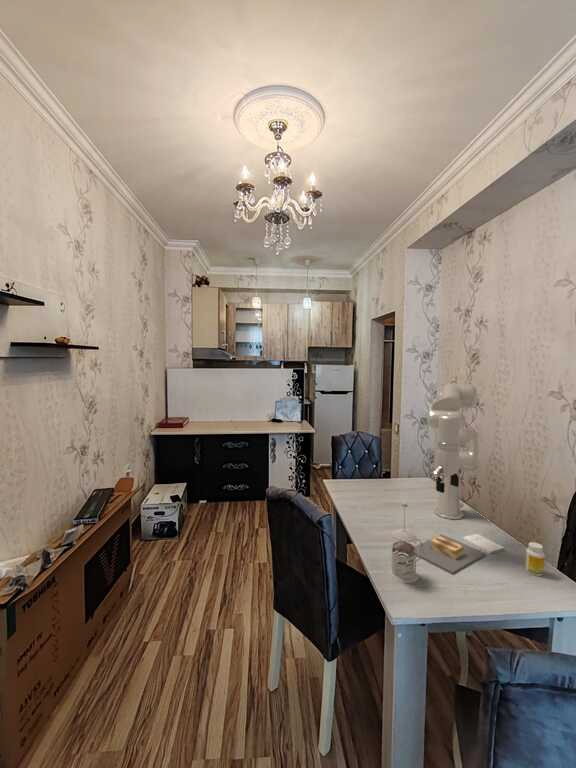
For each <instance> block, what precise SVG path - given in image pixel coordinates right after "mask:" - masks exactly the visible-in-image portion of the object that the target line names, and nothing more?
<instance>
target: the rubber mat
mask: <svg viewBox="0 0 576 768" xmlns="http://www.w3.org/2000/svg"><path fill="white" fill-rule="evenodd" d="M438 536H440V537H443V538H445V539H448V540H450V541H453V542H455V543H457V544H460V545H462V546H464V554H463V555H462V556H460V557H459V558H457V559H452V558H450V557H448V556H446V555H444V554H441V553H439V552H437V551H435V550H432V549H430V540H431V539H433V538H434V537H432V538H430V539H428V540H426V541H424V542H421V543H422V544H423V546H424V554H423V546H422V551H421V545H422V544H420V543H419V544H417V545H414V547H415V550H414V555H415V552H416V557H417V556H418V555H419V554H420V555H419V556H418V557H417V558H418V559H420V558H421V557H422V560H423V559H424V561H425V562H427V563H429V564H431V565H433V566H435V567H437V568H439V569H440V570H443V571H445V572H447V573H449V574H451V575H454V574H456V573H457V572H459V571H461V570H463V569H465V568H466V567H467V566H469V565H471V564H473V563H474V562H476V561H478V560H480V559H481V558H483V557H485V556H487V555H486V554H487V552H485V551H484V552H483V550H482V551H481V549H480V550H479V549H477V548H475V547H472V546H470V545H468V544H466V543H463V542H460V541H458V540H456V539H454V538H451V537H449V536H446V535H445V534H443V533H442V534H439V535H438ZM420 551H421V553H420ZM422 554H423V556H422Z"/></svg>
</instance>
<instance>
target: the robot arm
mask: <svg viewBox="0 0 576 768" xmlns="http://www.w3.org/2000/svg"><path fill="white" fill-rule="evenodd" d="M477 400H478V391H477V388H476V386H475V385H474V384H472V383H462V382H461V383H458V382H456V383H455V382H454V383H453V382H452V383H447V384H445V385H444V386H443V387H442V390H441V391H439V392H438V393H437V396H436V400H435V401H434V402H431V404H430V405H429V407H428V410H427V415H426V422H427V423H426V424H427V425H428V426H429V428H431V429H434V430H435V429H437V430H438V435H437V439H438V440H437V450H436V456H435V464H434V465H435V466H434V471H433V476H434V480H435V482H436V483H435V490H436V492H438V496H437V506H436V507H435V508H434V514H435V515H437V516H439V517H441V518H443V519H447V520H461V519H462V518H464V513H463V512H462V511H461V508H464V507H465V506H464V503H463V502H461V482H462V481H461V480H462V479H461V478H460V475H461V474H460V473H461V471H463V472H464V471H465V472H475V471H477V470H478V468H479V435H478V432H477V430H476V429H474V428H469V427H465V426H466V420H467V419H466V416H465V415H464V413H463V412H461V411H459V410H460V409H474V408H475V407H476V405H477ZM460 448H463V449H460Z"/></svg>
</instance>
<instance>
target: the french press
mask: <svg viewBox="0 0 576 768" xmlns="http://www.w3.org/2000/svg"><path fill="white" fill-rule="evenodd" d="M408 506H409V505H408V503H407V502H406V501H404V502H402V503H401V507H404V510H403V511H404V512H403V514H404V515H403V528H398V529H395V530H393V531H391V536H392V537H393V539H395V540H396V542H394V543H393V544H392V548H391V567H390V568H389V569H388V575H389V577H390V578H391V579H393V580H395V581H396V582H400V583H403V584H412V583H416V582H417V581H418V580H419V574H418V573H417V562H418V561H419V560H421V558H422V557H421V558H419V557H418V556H419V555H420V554H419V555H418V556H416V552H415V555H414V550H415V545H416V544H417V541H418V542H419V544H422V543H423V542H422V541H421V540H420V539H419V538H418V536H417V534H416V533H414V532H413V531H411V530H409V529H406V528H405V526H406V525H405V522H406V508H407V507H408ZM410 542H411V543H410ZM412 542H414V543H415V545H413V544H412ZM422 546H423V544H422V545H421V551H422ZM421 551H420V553H421ZM423 554H424V546H423ZM423 554H422V556H423ZM417 558H418V559H417Z"/></svg>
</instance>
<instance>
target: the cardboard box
mask: <svg viewBox="0 0 576 768" xmlns="http://www.w3.org/2000/svg"><path fill="white" fill-rule="evenodd" d="M432 538H433V539H432ZM432 538H430V539H431V540H430V539H429V540H430V549H432V550H435V551H437V552H439V553H441V554H444V555H446V556H448V557H450V558H452V559H457V558H459V557H460V556H462V555H463V554H464V546H462V545H460V544H457V543H455V542H453V541H450V540H448V539H445V538H443V537H440V536H439V535H437V536H434V537H432Z"/></svg>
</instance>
